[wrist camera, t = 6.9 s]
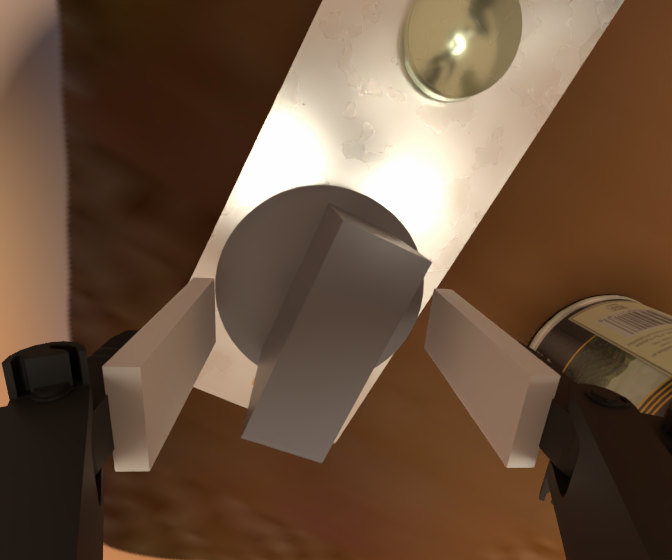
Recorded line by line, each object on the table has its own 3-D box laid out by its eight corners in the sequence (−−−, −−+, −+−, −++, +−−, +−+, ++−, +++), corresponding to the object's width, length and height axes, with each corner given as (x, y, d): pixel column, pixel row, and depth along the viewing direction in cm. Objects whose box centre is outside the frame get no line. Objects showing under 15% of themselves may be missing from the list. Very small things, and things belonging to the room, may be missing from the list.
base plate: (404, -157, 16) (429, -237, 13) (596, 9, 18) (655, -24, 15) (161, 351, 22) (138, 380, 19) (332, 422, 24) (337, 458, 21)
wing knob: (268, 148, 17) (238, 128, 9) (444, 234, 19) (541, 277, 11) (196, 326, 19) (126, 429, 11) (361, 387, 21) (395, 509, 13)
